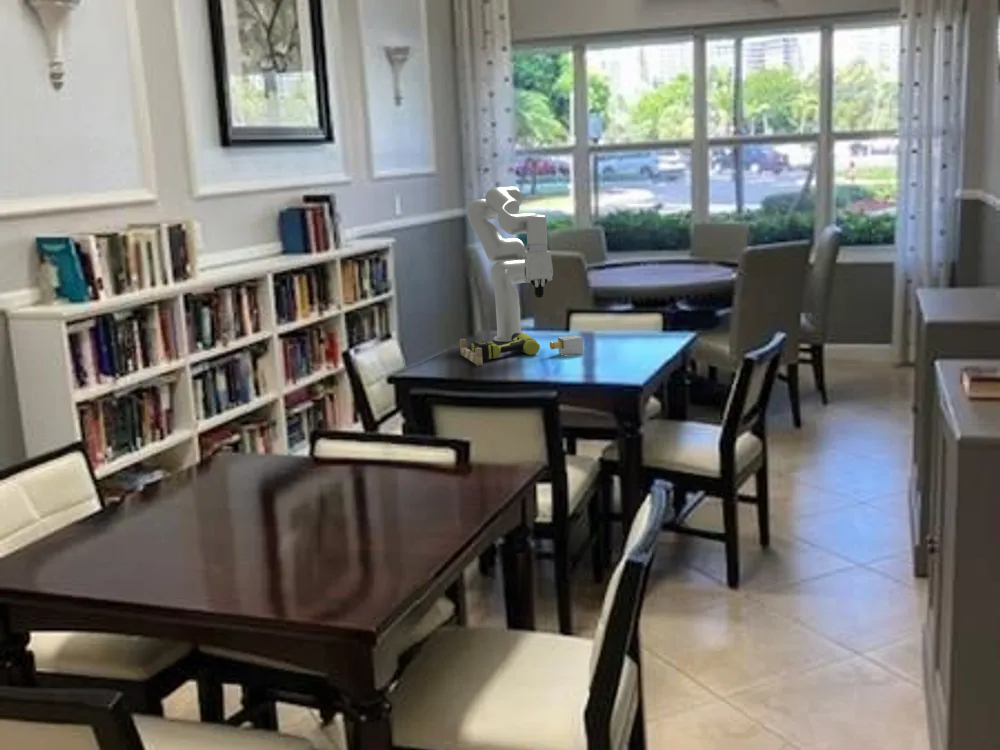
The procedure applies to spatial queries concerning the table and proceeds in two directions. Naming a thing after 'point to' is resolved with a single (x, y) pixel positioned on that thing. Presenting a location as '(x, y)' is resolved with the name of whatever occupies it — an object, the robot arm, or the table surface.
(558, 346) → the brass capped square peg
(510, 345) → the cordless drill
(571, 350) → the socket block
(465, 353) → the rail
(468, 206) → the robot arm
